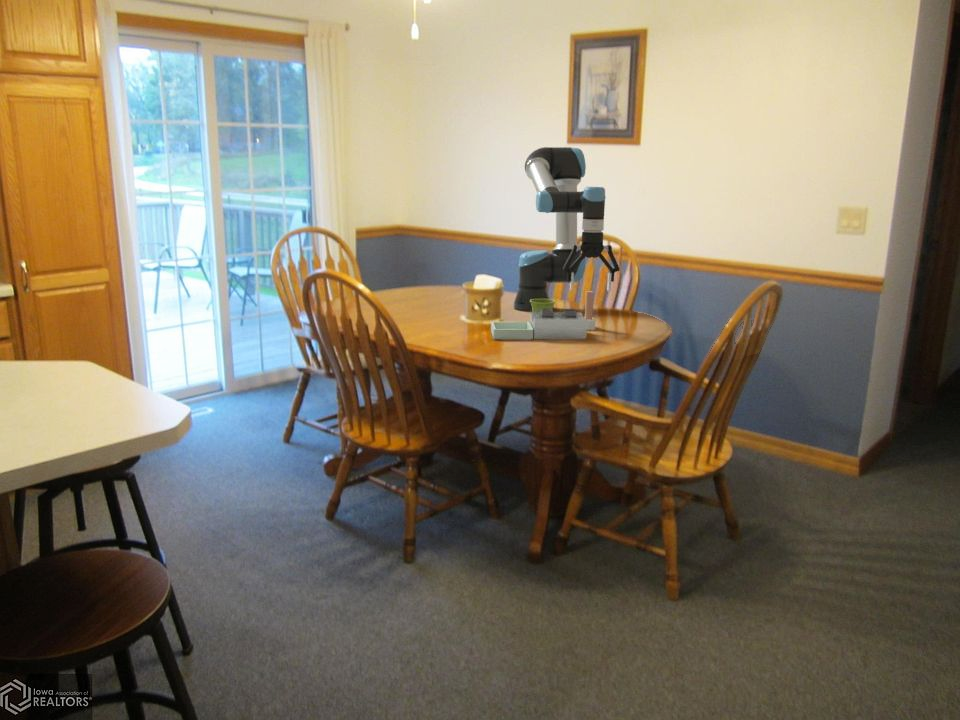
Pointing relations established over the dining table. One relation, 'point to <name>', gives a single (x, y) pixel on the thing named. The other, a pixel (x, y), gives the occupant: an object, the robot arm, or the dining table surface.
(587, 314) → the scraper
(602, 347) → the dining table surface
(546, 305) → the plant pot
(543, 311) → the chip
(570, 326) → the slot block
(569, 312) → the grey cube
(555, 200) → the robot arm
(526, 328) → the tray
